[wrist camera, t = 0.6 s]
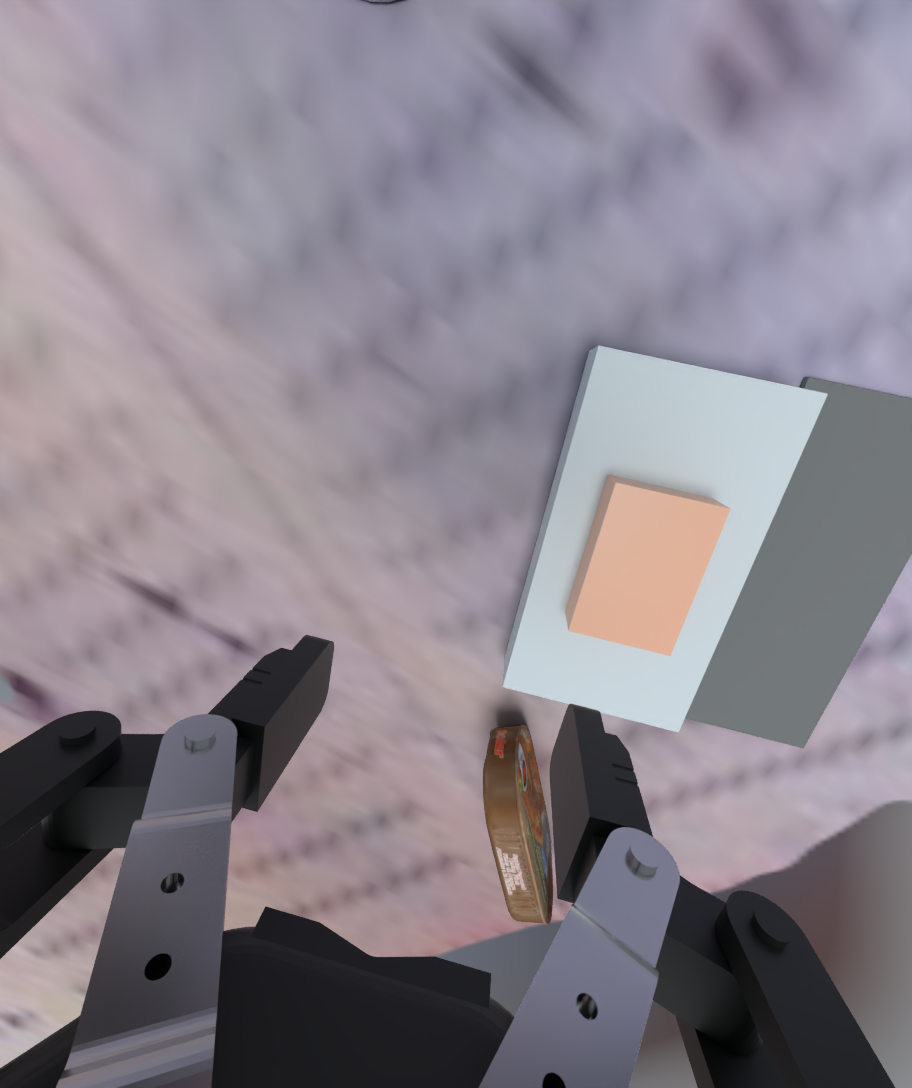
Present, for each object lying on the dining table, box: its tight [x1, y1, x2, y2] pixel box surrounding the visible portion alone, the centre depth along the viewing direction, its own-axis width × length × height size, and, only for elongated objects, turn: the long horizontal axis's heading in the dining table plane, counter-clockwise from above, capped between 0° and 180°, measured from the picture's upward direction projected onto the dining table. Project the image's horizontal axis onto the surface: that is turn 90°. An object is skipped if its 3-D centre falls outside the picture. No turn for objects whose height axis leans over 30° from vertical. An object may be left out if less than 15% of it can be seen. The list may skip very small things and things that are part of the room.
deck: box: [503, 346, 828, 732], centre depth 31 cm, size 22×12×4 cm, turn 168°
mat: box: [685, 377, 912, 748], centre depth 32 cm, size 24×10×1 cm, turn 168°
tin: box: [483, 725, 553, 925], centre depth 36 cm, size 15×3×8 cm, turn 12°
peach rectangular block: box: [565, 475, 730, 656], centre depth 28 cm, size 9×6×2 cm, turn 168°
